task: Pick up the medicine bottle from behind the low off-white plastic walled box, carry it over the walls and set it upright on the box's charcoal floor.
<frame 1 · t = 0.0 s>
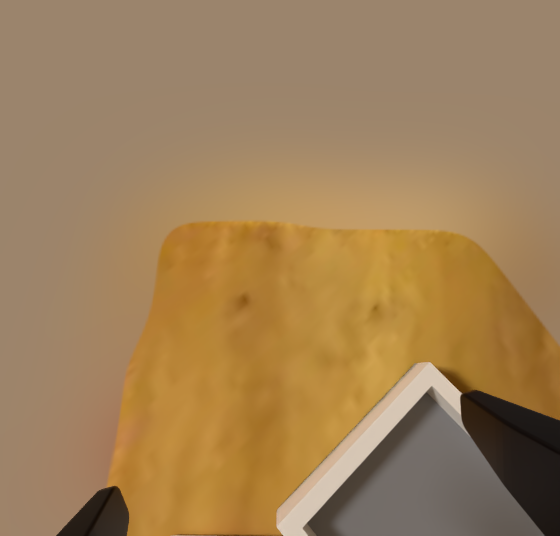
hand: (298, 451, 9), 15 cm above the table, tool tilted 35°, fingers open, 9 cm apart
walled box: (426, 518, 21), on the table
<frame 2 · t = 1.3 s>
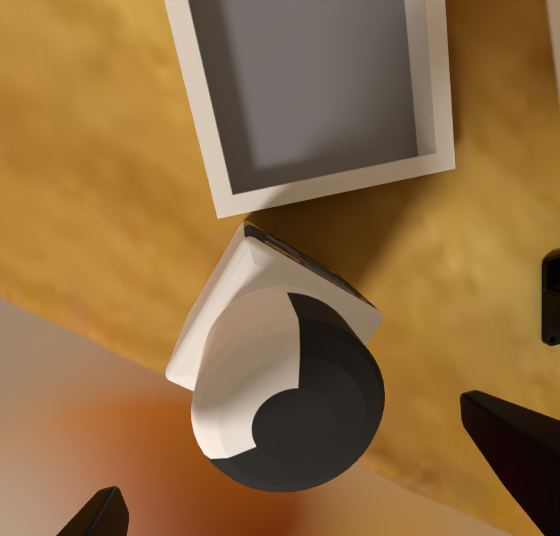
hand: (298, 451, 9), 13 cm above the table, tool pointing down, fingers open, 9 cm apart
medicine bottle: (264, 294, 21), on the table
walled box: (308, 73, 18), on the table
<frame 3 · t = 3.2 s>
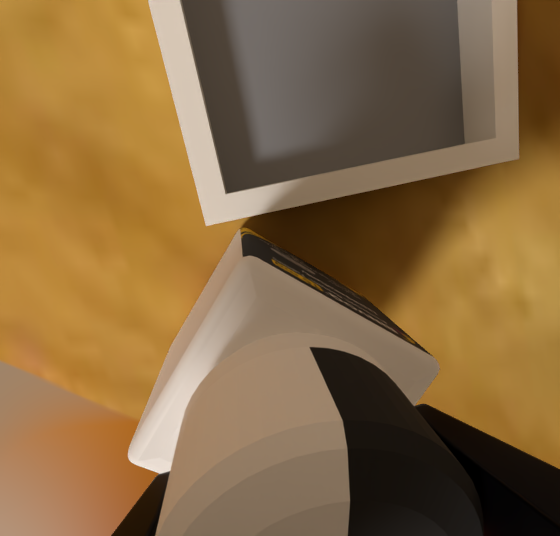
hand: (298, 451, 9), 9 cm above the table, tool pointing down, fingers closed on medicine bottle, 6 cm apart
medicine bottle: (267, 320, 17), on the table, touching gripper
walled box: (325, 34, 14), on the table
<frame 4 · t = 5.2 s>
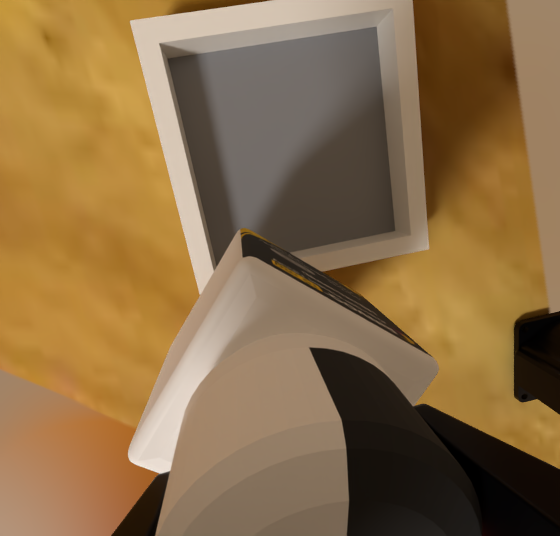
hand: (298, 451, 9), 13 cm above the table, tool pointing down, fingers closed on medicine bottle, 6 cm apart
medicine bottle: (267, 320, 17), point 4 cm above the table, touching gripper
walled box: (290, 154, 19), on the table
when the fingers open (10 cm above the table, at t = 7.5 s): medicine bottle stays where it is, resting on walled box.
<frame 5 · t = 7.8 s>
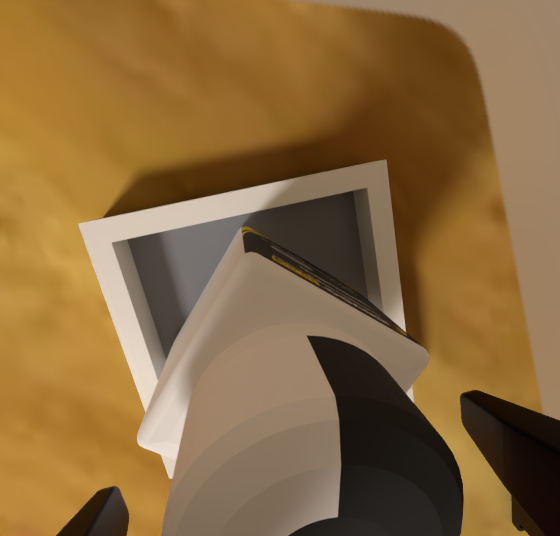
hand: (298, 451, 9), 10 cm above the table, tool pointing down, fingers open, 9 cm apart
medicine bottle: (267, 315, 18), resting on walled box
walled box: (265, 311, 18), on the table
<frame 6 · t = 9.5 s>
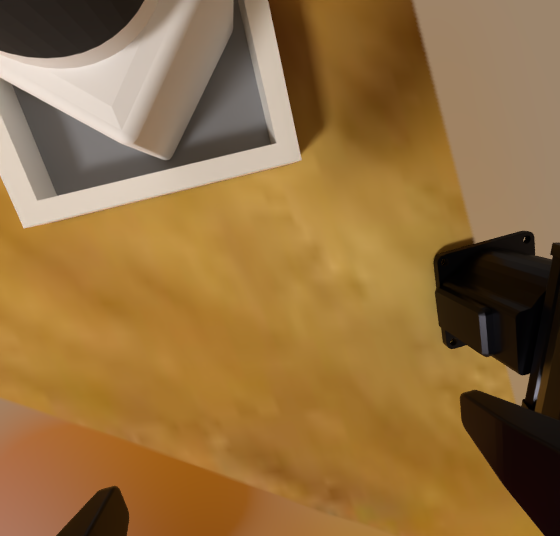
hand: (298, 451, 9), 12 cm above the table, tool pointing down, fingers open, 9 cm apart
medicine bottle: (133, 56, 16), resting on walled box
walled box: (133, 58, 16), on the table
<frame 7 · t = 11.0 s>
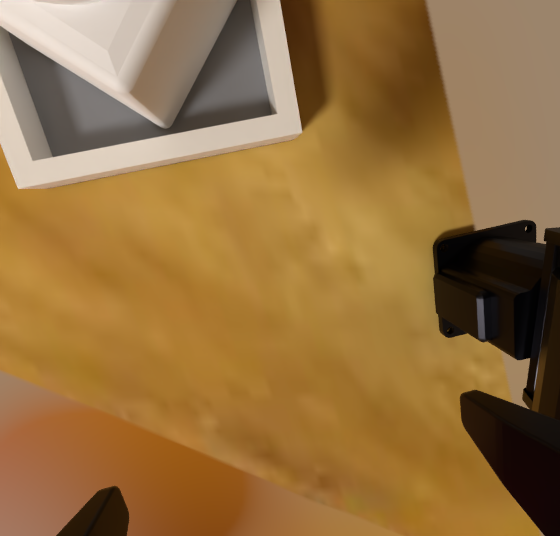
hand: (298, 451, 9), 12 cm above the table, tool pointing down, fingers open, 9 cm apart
medicine bottle: (136, 21, 16), resting on walled box
walled box: (136, 24, 16), on the table
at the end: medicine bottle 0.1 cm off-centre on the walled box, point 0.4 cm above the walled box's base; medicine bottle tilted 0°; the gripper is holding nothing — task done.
